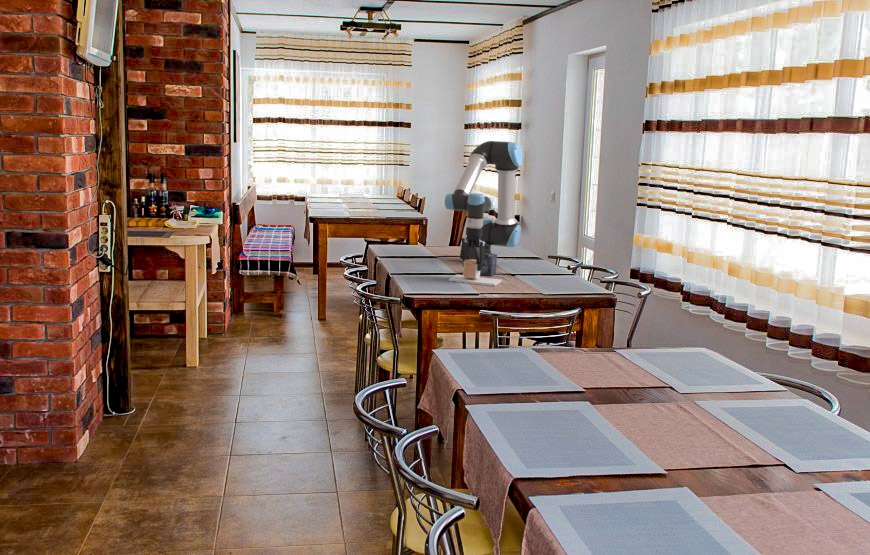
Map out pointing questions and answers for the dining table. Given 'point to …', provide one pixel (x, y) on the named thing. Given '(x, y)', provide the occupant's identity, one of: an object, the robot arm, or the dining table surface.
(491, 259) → the box
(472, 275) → the peach block
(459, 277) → the white board with peg
